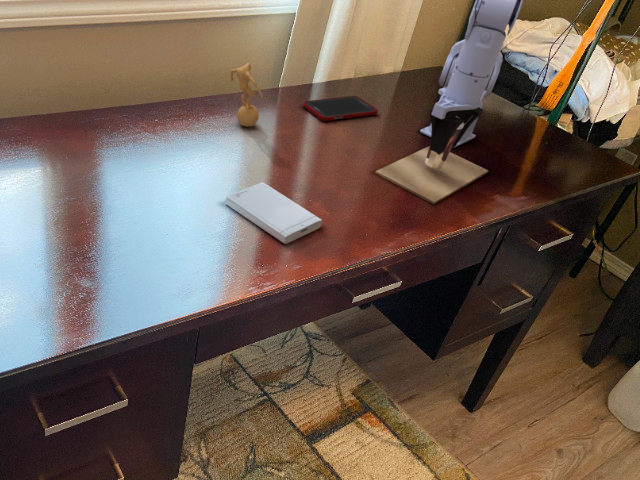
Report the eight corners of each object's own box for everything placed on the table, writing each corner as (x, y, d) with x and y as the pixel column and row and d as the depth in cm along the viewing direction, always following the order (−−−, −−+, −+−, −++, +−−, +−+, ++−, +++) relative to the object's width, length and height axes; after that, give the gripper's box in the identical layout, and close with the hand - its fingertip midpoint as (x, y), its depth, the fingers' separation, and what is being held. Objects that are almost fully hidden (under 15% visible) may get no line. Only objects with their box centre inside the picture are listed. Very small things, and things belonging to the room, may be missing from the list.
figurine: (269, 132, 113) (280, 68, 106) (245, 139, 110) (255, 73, 102) (239, 114, 117) (248, 51, 110) (215, 120, 114) (223, 56, 106)
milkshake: (451, 174, 107) (474, 120, 101) (421, 167, 107) (442, 112, 101) (450, 163, 110) (471, 110, 104) (420, 156, 111) (440, 103, 105)
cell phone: (378, 114, 127) (380, 110, 126) (323, 122, 120) (324, 117, 119) (355, 99, 131) (356, 95, 131) (300, 106, 125) (301, 101, 124)
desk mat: (432, 146, 119) (433, 144, 118) (487, 173, 113) (488, 170, 113) (374, 173, 107) (375, 170, 106) (433, 204, 101) (434, 202, 101)
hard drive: (225, 195, 91) (286, 235, 85) (263, 181, 96) (323, 218, 90) (224, 205, 92) (284, 245, 86) (262, 190, 97) (321, 227, 91)
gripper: (471, 55, 104) (443, 129, 113) (428, 69, 95) (401, 148, 104) (508, 70, 101) (477, 145, 110) (467, 85, 92) (436, 165, 101)
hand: (442, 147), depth 107 cm, fingers closed on milkshake, 4 cm apart
